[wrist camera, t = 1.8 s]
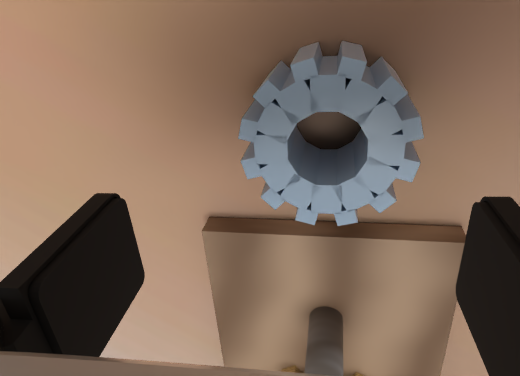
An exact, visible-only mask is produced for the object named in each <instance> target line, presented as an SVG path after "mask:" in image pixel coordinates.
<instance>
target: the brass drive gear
mask: <svg viewBox="0 0 520 376" xmlns="http://www.w3.org/2000/svg"><path fill="white" fill-rule="evenodd" d="M281 371H282V372H294V373H304V372H301V371H300V370H299V369H298V367H297V366H296V365H293V366H290V367H286V368H283V369H282V370H281ZM343 376H344V375H343ZM352 376H364V375H362V374H360V373H358V372H355V373H354V374H353V375H352Z"/></svg>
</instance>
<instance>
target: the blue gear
mask: <svg viewBox="0 0 520 376" xmlns="http://www.w3.org/2000/svg"><path fill="white" fill-rule="evenodd" d="M366 64H367V60H366V57H365V54H364V51H363V48H362V45H359V44H354V43H350V42H346V41H342V42H341V45H340V49H339V52H338V56H322V52H321V48H320V44H319V42H316V43H313V44H310V45H307V46H304V47H301V48H299V50H298V52H297V54H296V55H295V57H294V59H293V61H292V62H291V64H290V66H291V69H290V68H289V67H288V66H287V65H286V64H285V63H283V62H282V61H280V62H279V63H278V64H277V66H276V67H275V68H274V69H273V70H272V71H271V72H270V73H269V75H268V76H267V77H266V79H265V80H264V81H263V83H262V84H261V86H260V87H259V88H258V90H257V91H256V92H255V94H254V95H253V97H254V98H255V100H254V102H253V103H252V105H251V106H250V107H249V109H248V110H247V112H246V113H245V115H244V116H243V118H242V121H241V126H240V132H239V138H238V139H242V140H246V141H250V142H251V143H250V145H249V146H248V148H247V150H246V152H245V154H244V156H243V158H242V159H241V163H242V166H243V169H244V171H245V174H246V176H247V179H251V178H255V177H260V176H262V177H263V178H264V180H265V181H266V183H265V186H264V189H263V192H262V194H261V198H262V199H263V200H264V201H266V202H267V203H268V204H269V205H270V206H271V207H273V208H274V209H275V210H276V209H277V208H278V207H279V206H280V205H281V204H283V203H284V202H285V201H286V202H288V203H290V204H292V205H294V206H296V207H298V208H297V213H296V218H295V220H296V221H300V222H304V223H308V224H312V225H315V222H316V219H317V216H318V213H326V214H334V216H335V219H336V222H337V226H341V225H347V224H353V223H358V217H357V209H358V208H360V207H362V206H365V205H367V204H370V205H371V206H372V207H373V208H374V209H376V210H377V211H378V212H379V213H381V212H382V211H384V210H385V209H386V208H388V207H389V206H390V205H392V204H393V203H394V202H396V201H397V200H396V196H395V192H394V188H393V184H392V182H393V181H394V180H395V178H397V179H401V180H405V181H409V182H412V181H413V179H414V177H415V174H416V172H417V170H418V168H419V165H420V163H421V162H420V160H419V158H418V155H417V153H416V151H415V149H414V146H413V144H412V142H411V141H414V140H419V139H423V138H424V136H423V130H422V124H421V118H420V115H419V113H418V112H417V110H416V108H415V106H414V105H413V103H412V101H411V99H410V98H409V96H408V92H407V90H406V88H405V86H404V85H403V83H402V81H401V80H400V78H399V76H398V75H397V73H396V71H395V70H394V69H393V68H392V67H391V66H390V65H389V64H388V63H387V62H386V61H385V60H384V59H383V57H382V56H381V57H380V58H379V59H378V60H377V61H376V62H375V63H374V64H373V65H372V66H371V67H368V66H366ZM315 112H340V113H342V114H344V115H346V116H347V117H349V118H351V119H353V120H355V121H357V122H358V123H359V125H360V127H361V130H360V131H359V133H358V134H357V136H356V137H355V139H354V140H353V141H352V142H350V143H348V144H347V145H345V146H343V147H341V148H339V149H319V148H317V147H315V146H313V145H311V144H310V143H308V142H306V141H305V139H304V138H303V136H302V135H301V133H300V132H299V130H298V128H297V123H298V122H300V121H301V120H303V119H305V118H307V117H308V116H310V115H312V114H314V113H315Z"/></svg>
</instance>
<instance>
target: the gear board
mask: <svg viewBox="0 0 520 376" xmlns="http://www.w3.org/2000/svg"><path fill="white" fill-rule="evenodd" d="M202 236H203V242H204V248H205V254H206V260H207V266H208V271H209V277H210V283H211V289H212V295H213V301H214V307H215V313H216V319H217V325H218V331H219V337H220V343H221V349H222V355H223V361H224V367H233V368H245V369H257V370H269V371H281V370H282V369H283V368H286V367H290V366H293V365H296V366H297V367H298V369H299V370H300V371H301V372H304V373H306V374H318V375H329V376H343V375H344V376H352V375H353V374H354V373H355V372H358V373H360V374H362V375H364V376H440V374H441V370H442V365H443V361H444V356H445V352H446V347H447V343H448V338H449V334H450V329H451V325H452V320H453V316H454V311H455V307H456V302H457V297H456V282H457V277H458V272H459V268H460V263H461V258H462V253H463V249H464V244H465V239H466V235H465V233H464V231H463V229H462V227H460V226H433V225H407V224H380V223H353V224H347V225H341V226H337V222H327V221H316V222H315V225H312V224H308V223H304V222H300V221H296V220H275V219H248V218H222V217H209V219H208V221H207V222H206V224H205V226H204V228H203V230H202Z"/></svg>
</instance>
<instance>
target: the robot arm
mask: <svg viewBox="0 0 520 376" xmlns="http://www.w3.org/2000/svg"><path fill="white" fill-rule="evenodd" d="M143 282H144V269H143V265H142V261H141V257H140V253H139V250H138V246H137V242H136V238H135V234H134V231H133V227H132V223H131V219H130V215H129V211H128V208H127V204H126V201H125V200H124V199H123V198H120V196H119V195H118V194H116V193H97V194H95V195H94V196H92V197H91V198H90V199H89V200H88V201H87V202H86V203H85V204H84V205H83V206H82V207H81V208H80V209H78V210H77V211H76V212H75V213H74V214H73V215H72V216H71V217H70V218H69V219H68V220H67V221H66V222H64V223H63V224H62V225H61V226H60V227H59V228H58V229H57V230H56V231H55V232H54V233H53V234H52V235H50V236H49V237H48V238H47V239H46V240H45V241H44V242H43V243H42V244H41V245H40V246H39V247H38V248H36V249H35V250H34V251H33V252H32V253H31V254H30V255H29V256H28V257H27V258H26V259H25V260H24V261H22V262H21V263H20V264H19V265H18V266H17V267H16V268H15V269H14V270H13V271H12V272H11V273H10V274H8V275H7V276H6V277H5V278H4V279H3V280H2V281H1V282H0V376H329V375H318V374H306V373H294V372H282V371H269V370H257V369H245V368H233V367H220V366H208V365H195V364H183V363H170V362H157V361H143V360H130V359H117V358H103V357H99V356H100V355H101V353H102V351H103V350H104V348H105V346H106V345H107V343H108V341H109V340H110V338H111V336H112V335H113V333H114V331H115V330H116V328H117V326H118V325H119V323H120V321H121V320H122V318H123V316H124V315H125V313H126V311H127V310H128V308H129V306H130V305H131V303H132V301H133V300H134V298H135V296H136V295H137V293H138V291H139V290H140V288H141V286H142V284H143ZM456 297H457V300H458V303H459V305H460V308H461V310H462V312H463V315H464V317H465V319H466V322H467V324H468V327H469V329H470V331H471V334H472V336H473V338H474V341H475V343H476V346H477V348H478V350H479V353H480V355H481V358H482V360H483V362H484V365H485V367H486V369H487V372H488V374H489V376H520V207H519V206H518V204H517V203H516V202H515V201H514V200H513V199H512V198H511V197H483V198H482V199H481V201H480V202H475V203H474V204H473V207H472V211H471V215H470V220H469V225H468V230H467V234H466V239H465V244H464V249H463V253H462V258H461V263H460V268H459V272H458V277H457V282H456Z"/></svg>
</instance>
